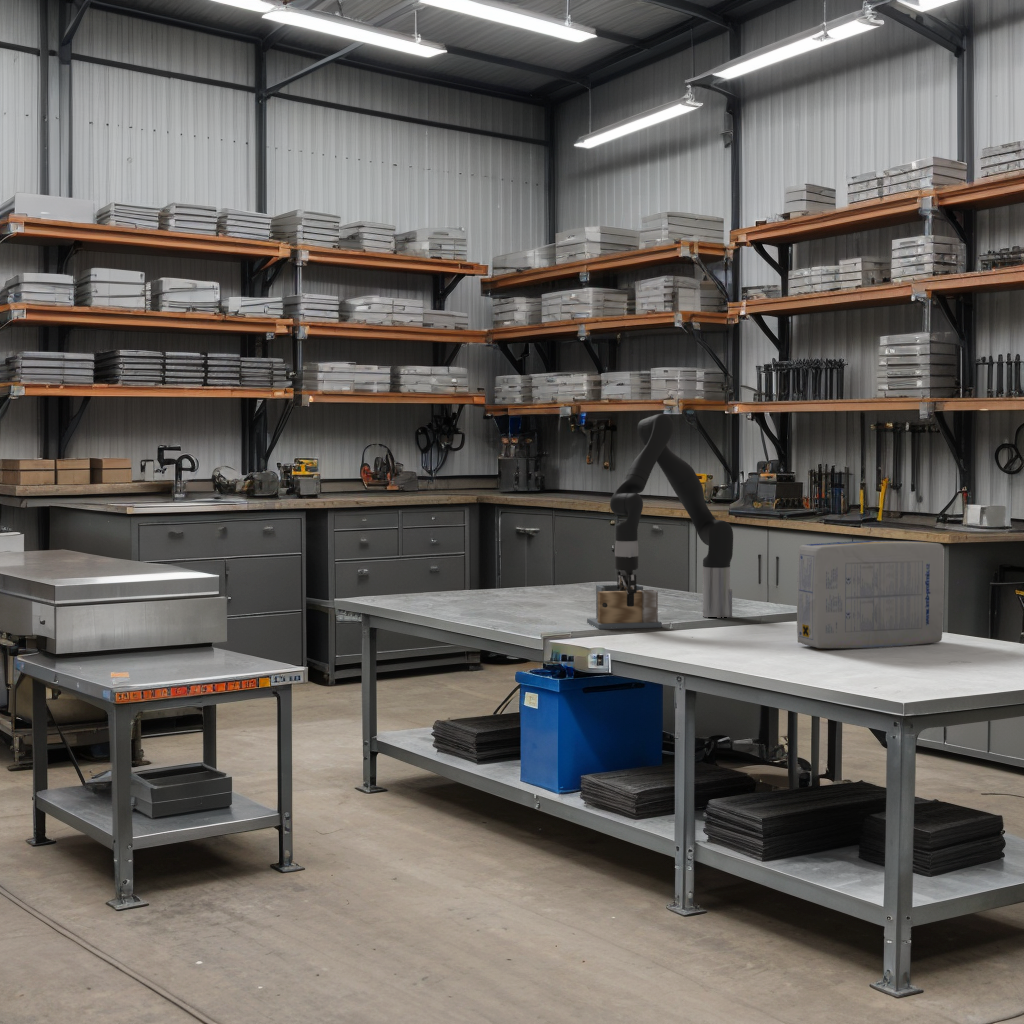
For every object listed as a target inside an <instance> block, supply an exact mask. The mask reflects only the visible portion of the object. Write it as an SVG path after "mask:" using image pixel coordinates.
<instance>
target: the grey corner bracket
mask: <svg viewBox="0 0 1024 1024" xmlns="http://www.w3.org/2000/svg"><path fill="white" fill-rule="evenodd" d="M636 588H637V591H638V590H644V586H642V585H640V584H637V583H636ZM631 590H632V589H631ZM599 591H619V589H617V584H601V585H600V584H599V585H595V592H596V593H595V599H596V600H595V603H596V611H595V614H596V615H595V617H594V618H593V617H591V618H590V617H589V618H587V619H586V623H587V624H588V623H589V624H588V625H590V624H591V625H590V626H592V625H593V626H592V627H594V626H595V627H596V629H597V628H598V630H612V629H614V630H615V629H616V630H618V629H619V630H620V629H645V628H646V629H647V628H662V627H663V624H662V623H663V622H662V621H660V620H658V622H648V623H642V622H634V623H602V624H600V623H598V599H597V592H599ZM595 627H594V628H595Z"/></svg>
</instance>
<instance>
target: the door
mask: <svg viewBox="0 0 1024 1024" xmlns="http://www.w3.org/2000/svg"><path fill="white" fill-rule="evenodd" d="M658 598H659V595H658V591H657V590H655V589H643V590H638V591H637V592H636V593H635V595H634V606H632V607H628V606H627V592H626V591H599V592H597V599H598V623H600V624H602V623H634V622H642V623H648V622H658V621H659V614H658V613H659V612H658V611H659V610H658V609H659V606H658V605H659V601H658V600H659V599H658Z"/></svg>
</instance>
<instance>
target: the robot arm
mask: <svg viewBox="0 0 1024 1024" xmlns="http://www.w3.org/2000/svg"><path fill="white" fill-rule="evenodd" d="M674 425H675V424H674V421H673V419H672V417H670V415H668V414H665V413H658V414H654V415H651V416H648V417H646V418H644V419H641V420H640V421H639V422H638V424H637V433H638V434H637V435H638V436H639V438H640V441H641V442H642V443H643V445H644V448H643V449H642V450H641V452H640V453H639V454H638V455H637V456H636V458H635V459H634V460H633V461H632V463H631V465H630V467H629V468H628V471H627V474H626V475H625V478H624V480H623V481H622V482H621V484H620V485H619V486H618V487H617V489H616V490H615V491H614V493H613V494H612V495H611V498H610V501H609V508H610V510H611V511H612V513H614V515H619V516H622V515H623V516H627V518H626V520H625V521H622V522H621V521H620V522H619V523H616V525H615V544H614V568H615V570H618V571H617V572H616V573H617V579H616V581H617V582H616V585H617V589H619V591H626V592H627V606H628V607H632V606H634V595H635V593H636V592H637V588H636V584H637V574H634V571H636V570H638V569H639V542H638V529H639V528H638V527H639V523H640V520H641V516H642V512H643V509H644V502H643V501H644V500H643V498H642V496H641V495H640V494H641V493H642V492H644V490H645V487H646V485H647V483H648V480H649V478H650V475H651V473H652V471H653V468H654V467H655V464H656V463H657V464H658V467H660V469H661V471H662V472H663V474H664V475H665V477H666V479H667V481H668V483H669V484H670V486H671V488H672V490H673V491H674V493H675V494H676V496H677V498H678V499H679V500H680V503H681V504H682V506H683V508H684V509H685V511H686V512H687V514H688V515H689V516H688V517H690V520H691V522H692V524H693V527H694V528H695V531H696V533H697V535H698V537H699V539H700V540H701V542H702V543H703V544H704V545H706V546H708V548H707V549H708V551H707V554H706V556H705V557H704V558H703V559H702V617H703V616H704V618H708V617H717V618H716V619H725V618H724V617H727V618H733V589H732V588H731V562H732V558H733V551H734V531H733V528H732V525H731V524H730V523H729V522H727V521H726V520H722V519H716V518H715V517H714V515H713V514H712V512H711V510H710V509H709V507H708V505H707V503H706V499H705V493H704V488H703V485H702V482H701V481H700V478H699V476H698V475H697V473H696V472H695V469H694V468H693V467H692V466H691V465H690V464H689V463H688V462H686V461H685V460H684V459H682V458H681V457H680V456H678V455H676V454H675V453H674V452H673V451H672V450H670V448H669V447H668V445H667V444H668V443H669V442H670V440H671V438H672V437H673V435H674V431H675V426H674ZM631 589H632V590H631ZM721 617H722V618H721Z"/></svg>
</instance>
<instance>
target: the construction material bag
mask: <svg viewBox="0 0 1024 1024" xmlns="http://www.w3.org/2000/svg"><path fill="white" fill-rule="evenodd" d="M797 555H798V557H797V558H798V560H797V582H796V584H797V585H796V586H797V587H796V588H797V589H796V627H797V628H796V630H797V631H796V632H797V643H800V644H802V645H806V646H809V647H813V648H817V649H878V647H882V648H893V647H894V648H895V647H907V646H917V645H925V644H933V643H935V644H936V643H939V642H941V641H942V640H943V639H942V638H943V623H944V596H945V595H944V594H945V593H944V591H945V590H944V589H945V588H944V586H945V584H944V583H945V581H944V579H945V577H944V576H945V575H944V571H945V569H944V568H945V567H944V565H945V563H944V558H945V557H944V545H943V544H941V543H940V542H938V543H937V542H926V541H918V540H912V541H911V540H855V541H853V540H851V541H836V542H823V543H822V542H821V543H810V544H802V545H799V546H798V554H797Z"/></svg>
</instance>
